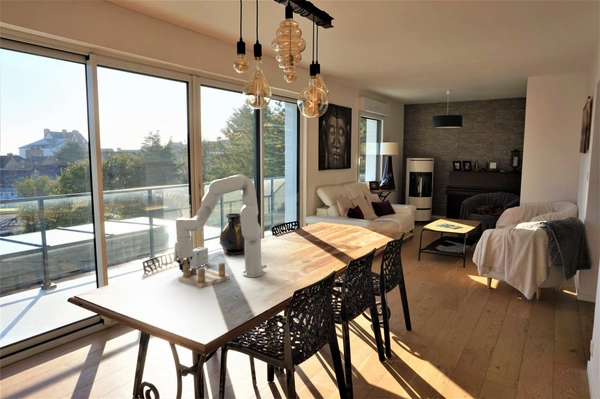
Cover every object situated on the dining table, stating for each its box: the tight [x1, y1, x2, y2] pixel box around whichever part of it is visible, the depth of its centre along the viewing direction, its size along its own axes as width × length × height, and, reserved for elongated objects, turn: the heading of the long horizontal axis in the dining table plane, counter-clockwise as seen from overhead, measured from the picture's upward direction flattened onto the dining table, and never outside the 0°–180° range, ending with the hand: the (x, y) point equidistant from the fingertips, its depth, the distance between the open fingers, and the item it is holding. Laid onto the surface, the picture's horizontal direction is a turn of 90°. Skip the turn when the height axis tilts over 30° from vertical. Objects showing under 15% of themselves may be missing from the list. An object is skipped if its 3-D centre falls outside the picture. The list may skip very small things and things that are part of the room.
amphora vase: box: [219, 212, 245, 256], centre depth 277 cm, size 22×22×28 cm
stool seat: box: [178, 262, 231, 289], centre depth 219 cm, size 20×20×9 cm
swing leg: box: [181, 259, 198, 275], centre depth 225 cm, size 12×4×7 cm, turn 50°
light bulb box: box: [190, 246, 209, 268], centre depth 248 cm, size 11×7×11 cm, turn 149°
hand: (184, 268), depth 228 cm, fingers closed on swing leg, 3 cm apart
